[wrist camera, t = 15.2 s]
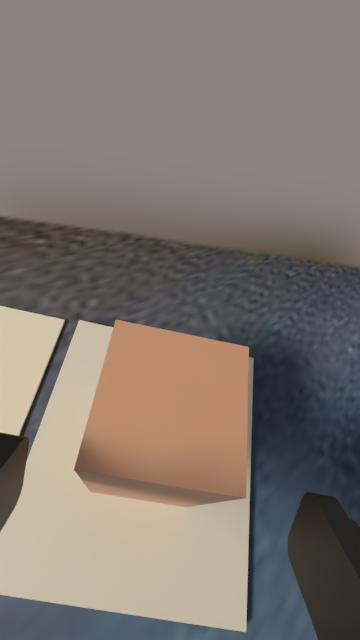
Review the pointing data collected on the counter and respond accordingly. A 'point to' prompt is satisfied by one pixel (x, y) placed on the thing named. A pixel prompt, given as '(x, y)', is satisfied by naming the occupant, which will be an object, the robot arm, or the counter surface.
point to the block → (168, 419)
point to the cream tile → (23, 362)
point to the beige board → (119, 524)
